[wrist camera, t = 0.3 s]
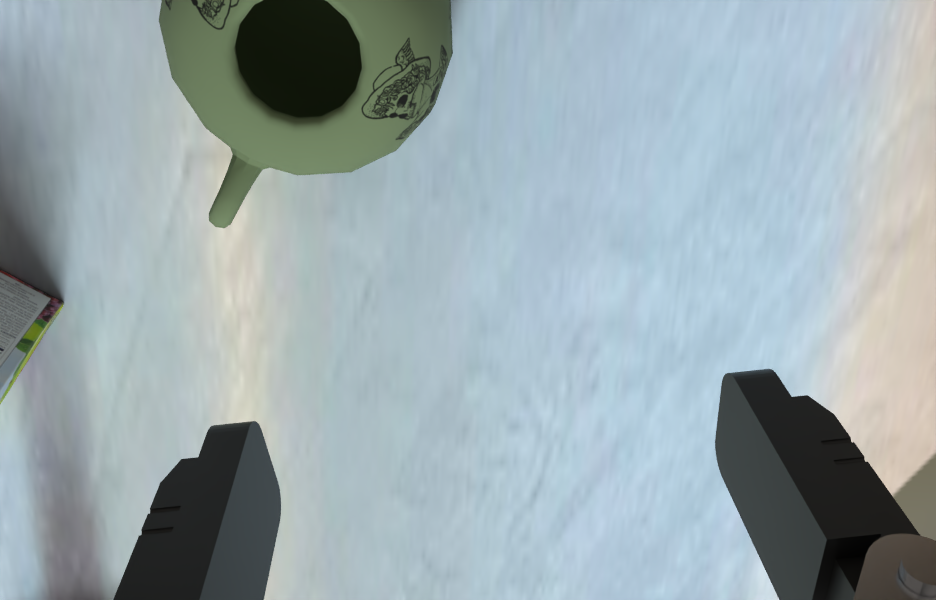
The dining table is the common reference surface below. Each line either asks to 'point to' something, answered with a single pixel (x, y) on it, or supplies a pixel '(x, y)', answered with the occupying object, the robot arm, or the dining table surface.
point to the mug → (305, 80)
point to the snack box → (21, 325)
